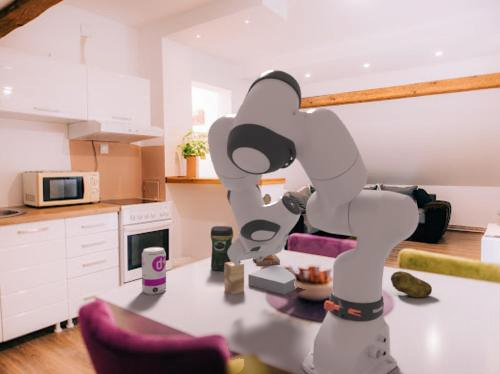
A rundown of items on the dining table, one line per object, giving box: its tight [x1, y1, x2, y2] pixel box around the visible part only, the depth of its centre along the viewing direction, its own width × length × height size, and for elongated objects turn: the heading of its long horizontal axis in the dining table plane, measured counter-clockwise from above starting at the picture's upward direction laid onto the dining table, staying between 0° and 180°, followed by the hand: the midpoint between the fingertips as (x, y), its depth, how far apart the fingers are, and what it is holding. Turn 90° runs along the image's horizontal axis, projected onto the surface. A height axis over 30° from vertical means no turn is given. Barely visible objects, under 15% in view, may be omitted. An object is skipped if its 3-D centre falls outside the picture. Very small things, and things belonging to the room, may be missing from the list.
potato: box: [390, 270, 433, 298], centre depth 121 cm, size 8×13×8 cm, turn 63°
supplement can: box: [141, 246, 167, 296], centre depth 125 cm, size 8×8×15 cm
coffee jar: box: [209, 225, 234, 272], centre depth 152 cm, size 10×8×19 cm
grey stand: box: [248, 264, 300, 296], centre depth 133 cm, size 16×16×4 cm
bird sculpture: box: [252, 193, 281, 266], centre depth 162 cm, size 11×12×32 cm
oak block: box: [224, 262, 245, 295], centre depth 125 cm, size 5×5×10 cm
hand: (247, 261), depth 117 cm, fingers open, 8 cm apart
